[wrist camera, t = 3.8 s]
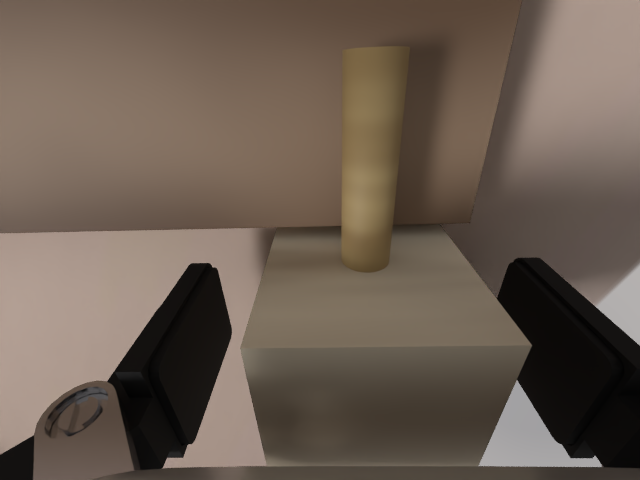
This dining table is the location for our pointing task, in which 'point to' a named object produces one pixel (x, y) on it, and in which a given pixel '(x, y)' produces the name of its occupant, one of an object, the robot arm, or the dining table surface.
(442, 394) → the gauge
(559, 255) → the dining table surface
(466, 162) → the board
